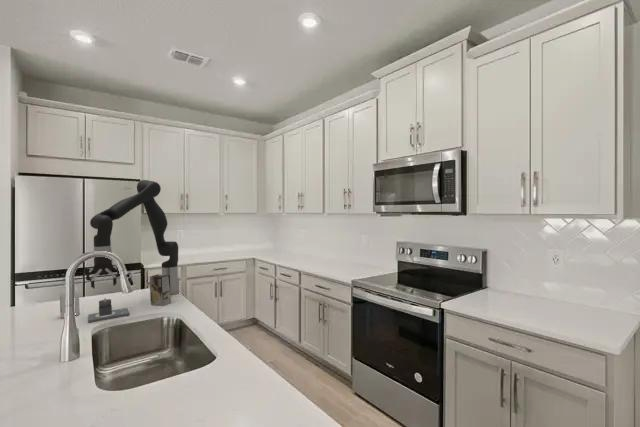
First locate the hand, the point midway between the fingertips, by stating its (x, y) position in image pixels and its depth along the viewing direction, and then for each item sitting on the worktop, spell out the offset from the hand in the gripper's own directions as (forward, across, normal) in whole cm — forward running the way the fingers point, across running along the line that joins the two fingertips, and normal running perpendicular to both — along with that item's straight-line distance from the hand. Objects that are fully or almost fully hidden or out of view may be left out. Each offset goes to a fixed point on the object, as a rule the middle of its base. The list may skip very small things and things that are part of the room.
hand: (104, 286), depth 161 cm
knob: (+14, 0, 0) cm, 14 cm away
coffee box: (+16, +26, +6) cm, 31 cm away
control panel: (+15, +2, 0) cm, 15 cm away
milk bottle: (+15, -15, +13) cm, 25 cm away
